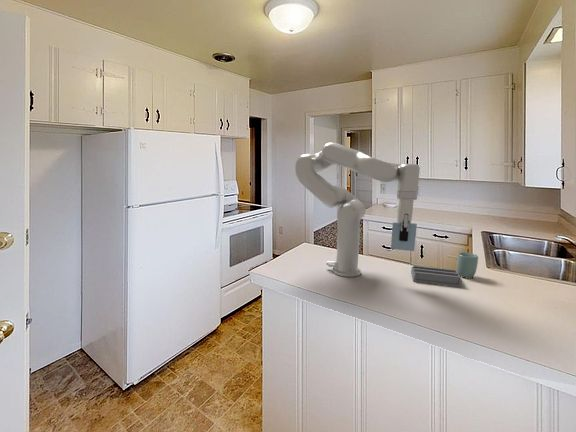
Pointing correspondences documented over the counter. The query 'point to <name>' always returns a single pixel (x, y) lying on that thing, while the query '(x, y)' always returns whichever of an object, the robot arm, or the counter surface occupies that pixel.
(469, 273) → the cup
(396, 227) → the light blue upright panel
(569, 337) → the counter surface
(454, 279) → the rack
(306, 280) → the counter surface
